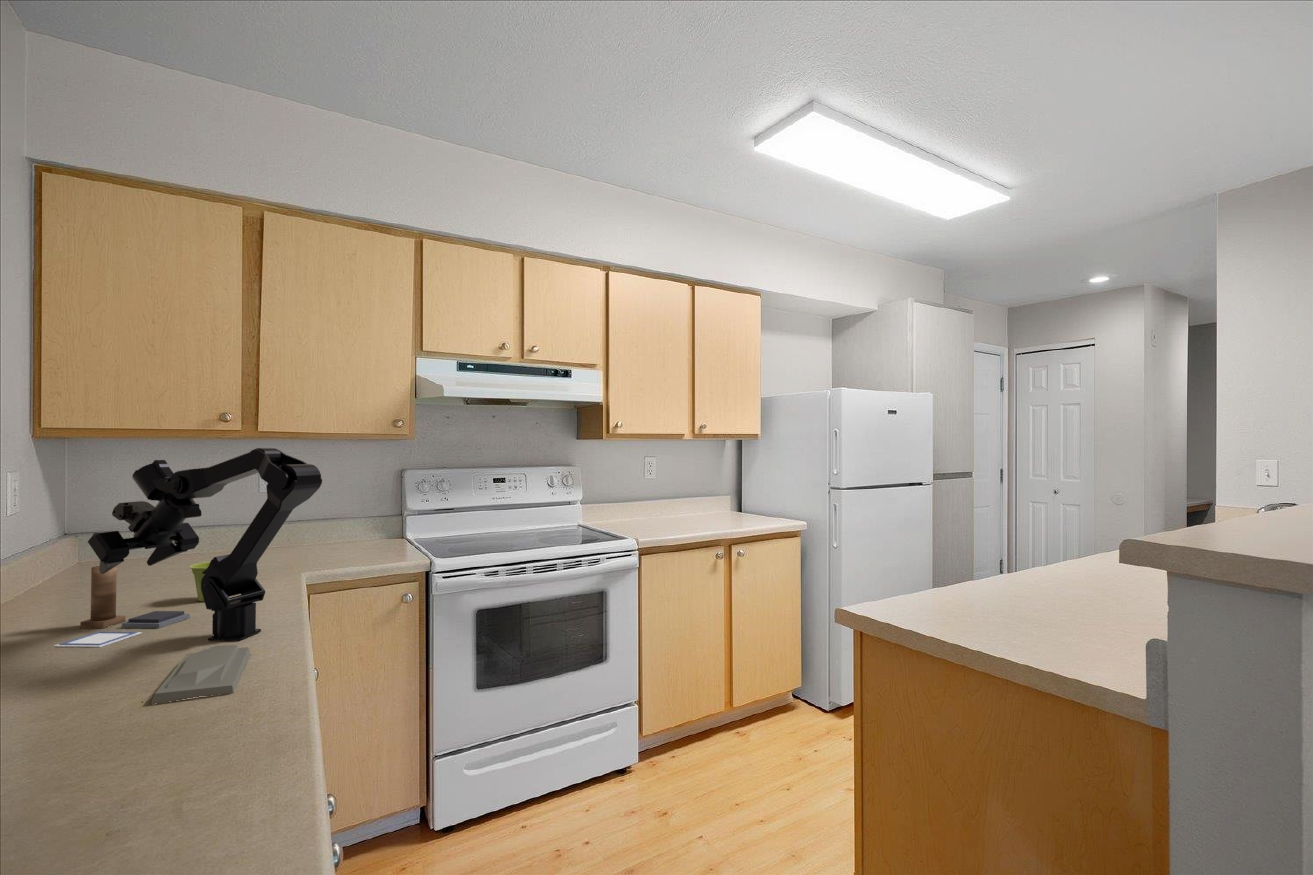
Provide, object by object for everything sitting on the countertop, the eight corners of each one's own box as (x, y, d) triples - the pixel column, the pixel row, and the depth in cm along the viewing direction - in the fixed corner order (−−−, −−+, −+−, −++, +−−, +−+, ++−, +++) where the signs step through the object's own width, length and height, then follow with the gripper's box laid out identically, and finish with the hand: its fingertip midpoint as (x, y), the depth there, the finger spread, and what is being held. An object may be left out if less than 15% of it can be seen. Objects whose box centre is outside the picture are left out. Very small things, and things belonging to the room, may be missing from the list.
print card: (141, 633, 125) (141, 631, 125) (99, 647, 116) (99, 645, 116) (99, 632, 125) (99, 630, 125) (53, 646, 116) (53, 644, 116)
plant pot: (212, 604, 148) (212, 568, 148) (179, 602, 150) (180, 566, 150) (245, 595, 157) (245, 561, 157) (214, 593, 159) (214, 560, 159)
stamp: (125, 621, 133) (126, 564, 133) (103, 628, 128) (104, 568, 128) (102, 621, 133) (103, 564, 134) (80, 628, 128) (81, 568, 129)
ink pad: (189, 617, 136) (189, 610, 136) (159, 628, 128) (159, 620, 128) (154, 617, 137) (154, 610, 137) (121, 627, 129) (122, 619, 129)
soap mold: (148, 709, 89) (149, 685, 89) (183, 666, 107) (183, 645, 107) (234, 697, 94) (234, 673, 94) (253, 657, 112) (253, 638, 112)
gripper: (190, 486, 138) (151, 533, 140) (96, 491, 120) (53, 546, 122) (217, 522, 136) (177, 570, 138) (125, 533, 117) (81, 588, 120)
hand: (125, 567), depth 130 cm, fingers open, 9 cm apart
